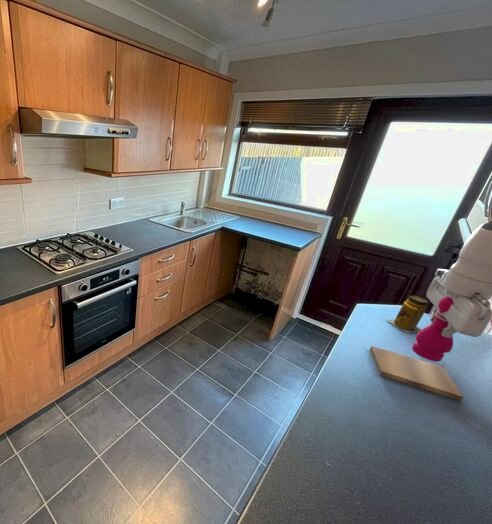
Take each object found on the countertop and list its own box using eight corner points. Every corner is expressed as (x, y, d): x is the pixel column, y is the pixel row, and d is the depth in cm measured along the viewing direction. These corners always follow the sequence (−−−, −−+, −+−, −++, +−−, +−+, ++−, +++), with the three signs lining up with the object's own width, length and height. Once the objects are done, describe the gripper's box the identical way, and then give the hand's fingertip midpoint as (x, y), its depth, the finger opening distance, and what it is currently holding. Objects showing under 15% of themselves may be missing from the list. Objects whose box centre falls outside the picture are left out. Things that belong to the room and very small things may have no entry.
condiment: (387, 320, 107) (401, 294, 102) (405, 319, 108) (420, 293, 103) (406, 333, 101) (422, 305, 95) (425, 332, 102) (442, 304, 97)
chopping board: (440, 370, 85) (443, 366, 84) (460, 400, 75) (463, 396, 74) (369, 349, 91) (371, 345, 91) (379, 375, 81) (381, 371, 81)
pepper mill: (410, 341, 84) (443, 283, 76) (443, 354, 80) (482, 294, 71) (408, 352, 79) (443, 292, 71) (443, 367, 75) (485, 304, 66)
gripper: (513, 309, 60) (476, 357, 66) (463, 272, 77) (437, 313, 83) (474, 301, 63) (441, 348, 69) (434, 266, 80) (411, 307, 86)
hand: (439, 328), depth 76 cm, fingers closed on pepper mill, 5 cm apart
